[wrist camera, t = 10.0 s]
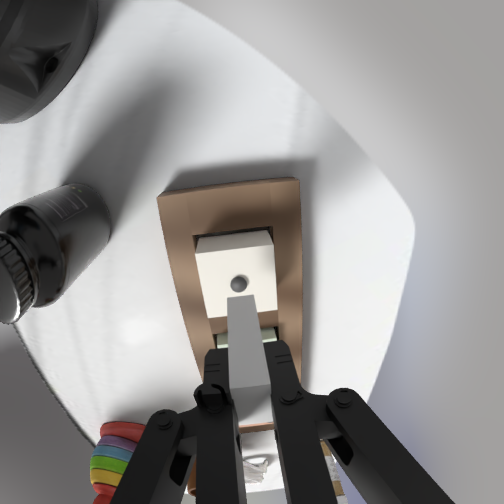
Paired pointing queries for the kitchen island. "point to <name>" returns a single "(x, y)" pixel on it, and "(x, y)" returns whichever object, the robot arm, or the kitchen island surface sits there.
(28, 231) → the supplement bottle
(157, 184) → the kitchen island surface
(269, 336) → the two-pip button
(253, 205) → the button board
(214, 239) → the one-pip button
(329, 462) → the sprinkles bottle
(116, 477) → the stacking bear
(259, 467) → the crumpled white paper
